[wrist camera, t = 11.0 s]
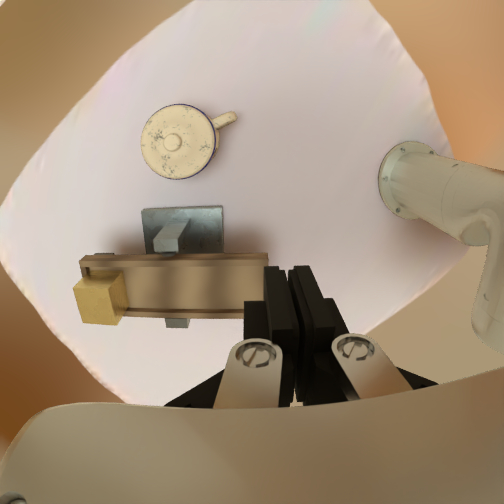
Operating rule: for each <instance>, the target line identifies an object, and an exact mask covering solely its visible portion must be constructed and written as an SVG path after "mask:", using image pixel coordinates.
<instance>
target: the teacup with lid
mask: <svg viewBox="0 0 504 504" xmlns="http://www.w3.org/2000/svg"><path fill="white" fill-rule="evenodd" d="M236 119H237V116H236V114H235V112H228V113H225V114H223V115H221V116H218V117H216V118H214V119H211V118H210V117H208V116H207V115H206V114H204V113H203V112H202V111H201V110H199V109H197V108H195V107H193V106H190V105H186V104H174V105H169V106H166V107H164V108H162V109H160V110H158V111H157V112H156V113H154V114H153V115H152V116H151V117H150V119H149V120H148V121H147V123H146V125H145V127H144V129H143V132H142V136H141V150H142V154H143V157H144V159H145V161H146V163H147V164H148V166H149V167H150V168H151V169H152V170H153V171H154V172H156V173H157V174H159V175H160V176H162V177H165V178H169V179H176V180H177V179H186V178H189V177H192V176H194V175H196V174H198V173H199V172H200V171H202V170H203V169H204V168H205V167H206V166H207V165H208V163H209V162H210V161H211V160H212V158H213V157H214V156H215V154H216V152H217V150H218V147H219V141H220V137H219V131H218V129H220V128H222V127H224V126H226V125H228V124H230V123H232V122H234V121H235V120H236Z"/></svg>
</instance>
